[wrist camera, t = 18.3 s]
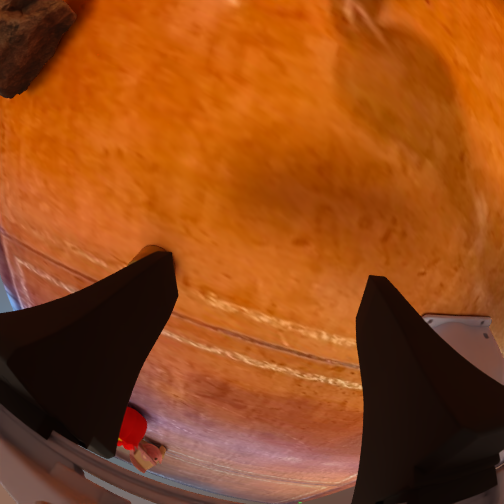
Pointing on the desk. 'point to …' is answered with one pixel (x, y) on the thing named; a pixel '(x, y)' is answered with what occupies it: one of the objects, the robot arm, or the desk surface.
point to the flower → (132, 429)
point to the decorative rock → (29, 39)
